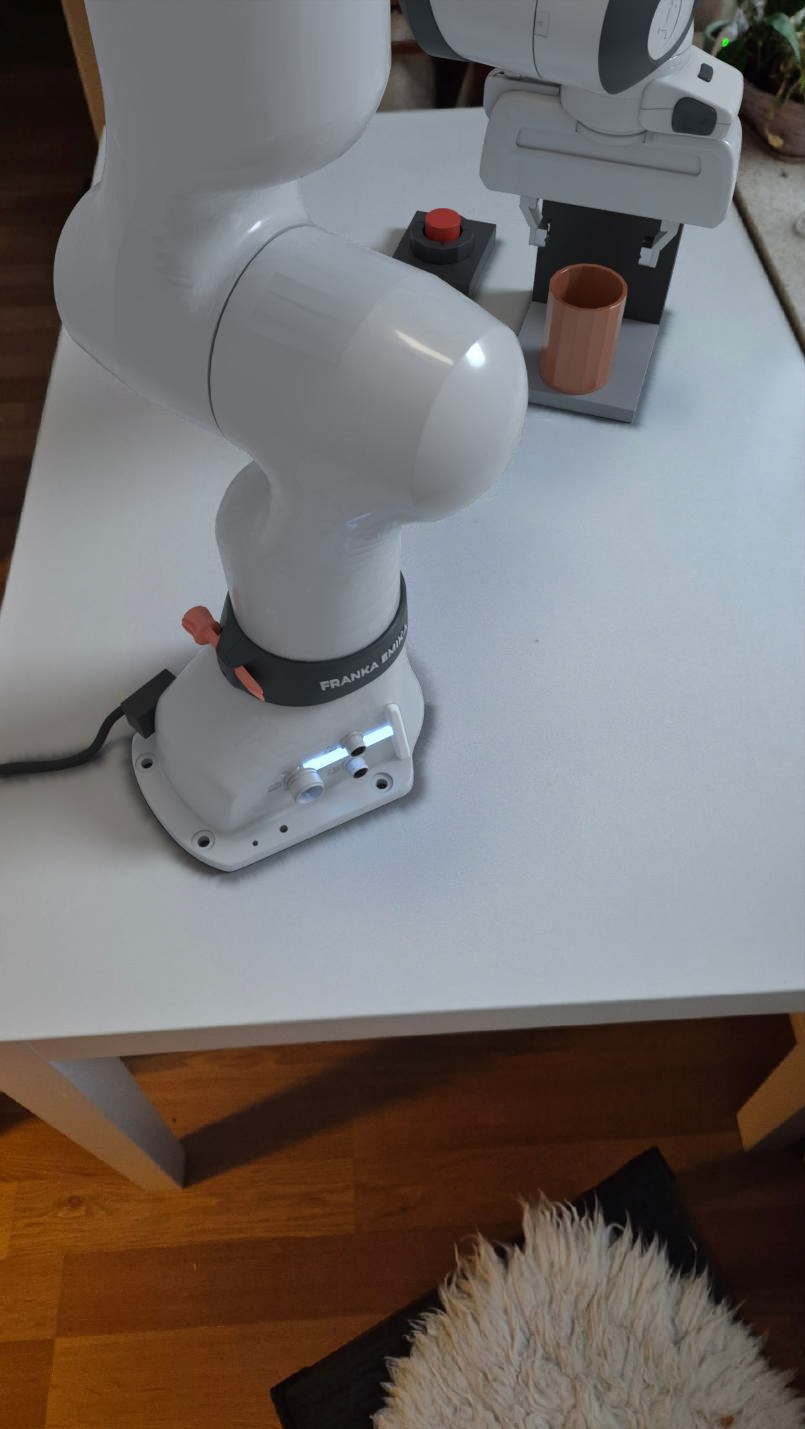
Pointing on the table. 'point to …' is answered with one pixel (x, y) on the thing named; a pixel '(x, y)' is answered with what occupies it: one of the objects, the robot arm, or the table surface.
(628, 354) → the coffee maker
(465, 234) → the control block
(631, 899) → the table surface
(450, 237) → the button
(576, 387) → the cup
